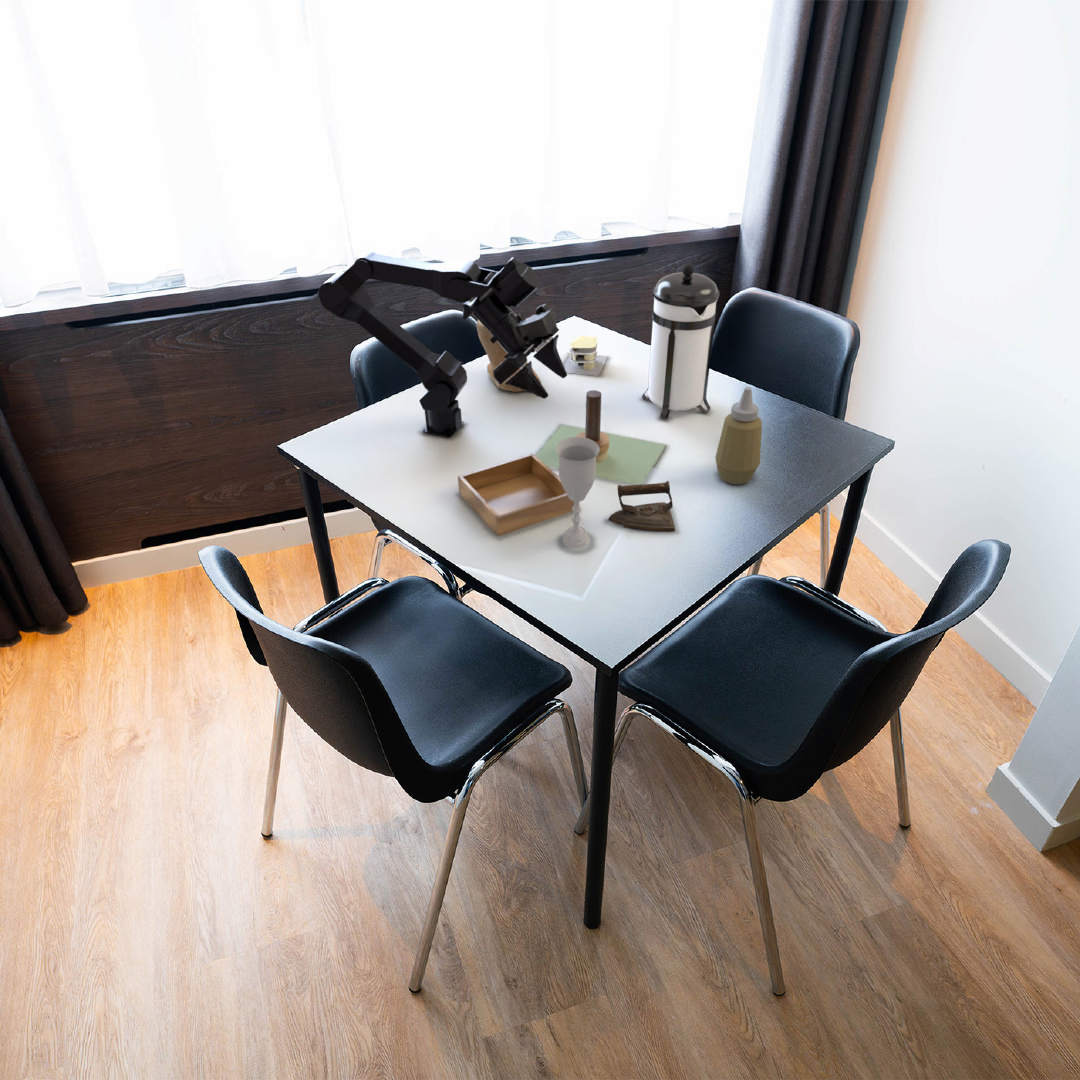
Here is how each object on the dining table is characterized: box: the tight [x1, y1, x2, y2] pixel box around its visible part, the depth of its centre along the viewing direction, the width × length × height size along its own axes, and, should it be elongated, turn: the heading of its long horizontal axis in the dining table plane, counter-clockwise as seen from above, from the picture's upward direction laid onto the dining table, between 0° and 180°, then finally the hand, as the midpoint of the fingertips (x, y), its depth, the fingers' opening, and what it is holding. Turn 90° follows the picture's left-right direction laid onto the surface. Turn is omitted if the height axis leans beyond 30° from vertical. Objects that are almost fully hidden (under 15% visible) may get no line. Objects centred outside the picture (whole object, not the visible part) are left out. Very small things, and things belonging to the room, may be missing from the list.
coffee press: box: [641, 263, 720, 421], centre depth 171 cm, size 17×16×30 cm
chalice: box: [556, 437, 600, 550], centre depth 135 cm, size 7×7×18 cm
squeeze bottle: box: [714, 386, 763, 485], centre depth 151 cm, size 8×8×18 cm
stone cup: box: [476, 313, 542, 393], centre depth 185 cm, size 15×12×15 cm
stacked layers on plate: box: [563, 335, 608, 377], centre depth 194 cm, size 10×9×6 cm
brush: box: [576, 389, 609, 463], centre depth 158 cm, size 6×6×13 cm
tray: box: [457, 452, 574, 537], centre depth 149 cm, size 15×15×4 cm
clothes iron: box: [608, 480, 676, 533], centre depth 143 cm, size 7×11×10 cm, turn 92°
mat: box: [535, 424, 667, 485], centre depth 163 cm, size 22×16×1 cm
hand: (556, 386), depth 158 cm, fingers open, 9 cm apart
